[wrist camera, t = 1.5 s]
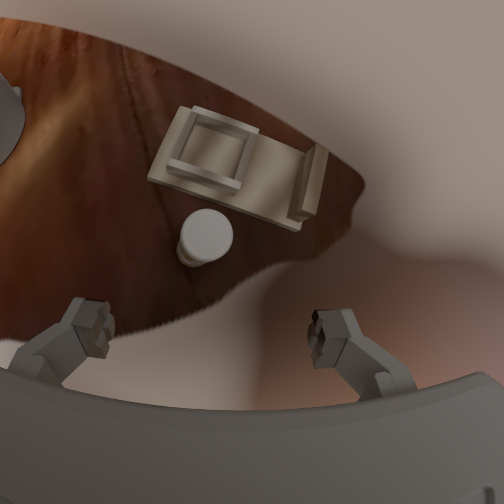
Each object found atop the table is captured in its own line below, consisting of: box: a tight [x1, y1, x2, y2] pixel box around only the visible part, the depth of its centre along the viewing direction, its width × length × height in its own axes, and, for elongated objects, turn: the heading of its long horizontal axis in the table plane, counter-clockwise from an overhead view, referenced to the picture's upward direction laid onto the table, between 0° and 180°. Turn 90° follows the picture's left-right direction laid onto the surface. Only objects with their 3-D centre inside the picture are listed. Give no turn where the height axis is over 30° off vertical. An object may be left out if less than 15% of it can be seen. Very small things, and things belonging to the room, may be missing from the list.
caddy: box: [147, 106, 329, 232], centre depth 37 cm, size 22×12×6 cm, turn 73°
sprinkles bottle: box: [176, 209, 233, 267], centre depth 31 cm, size 5×5×14 cm
